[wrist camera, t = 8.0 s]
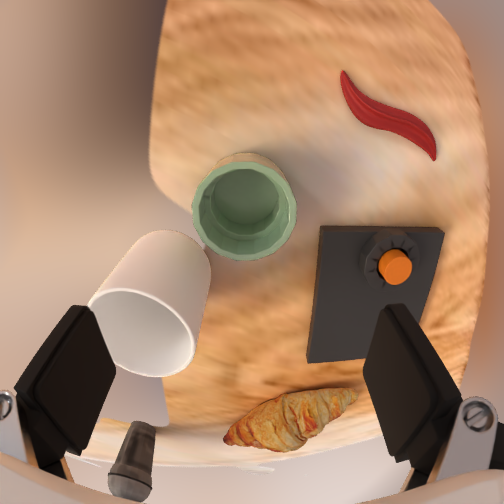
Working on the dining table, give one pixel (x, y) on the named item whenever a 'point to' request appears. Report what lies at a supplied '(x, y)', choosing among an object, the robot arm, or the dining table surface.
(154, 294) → the cup
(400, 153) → the dining table surface
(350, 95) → the cayenne pepper
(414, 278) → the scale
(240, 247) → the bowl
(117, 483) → the beverage cup
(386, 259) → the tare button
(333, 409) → the croissant
